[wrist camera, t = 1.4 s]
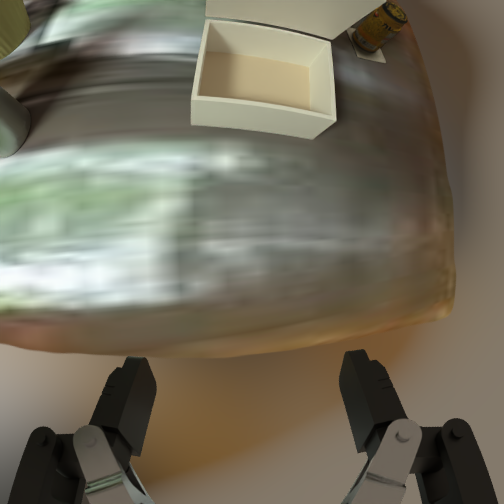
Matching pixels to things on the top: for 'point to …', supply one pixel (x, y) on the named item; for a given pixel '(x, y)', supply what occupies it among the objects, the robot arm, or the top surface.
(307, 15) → the lid
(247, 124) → the box
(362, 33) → the condiment
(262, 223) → the top surface
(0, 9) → the potted cactus
